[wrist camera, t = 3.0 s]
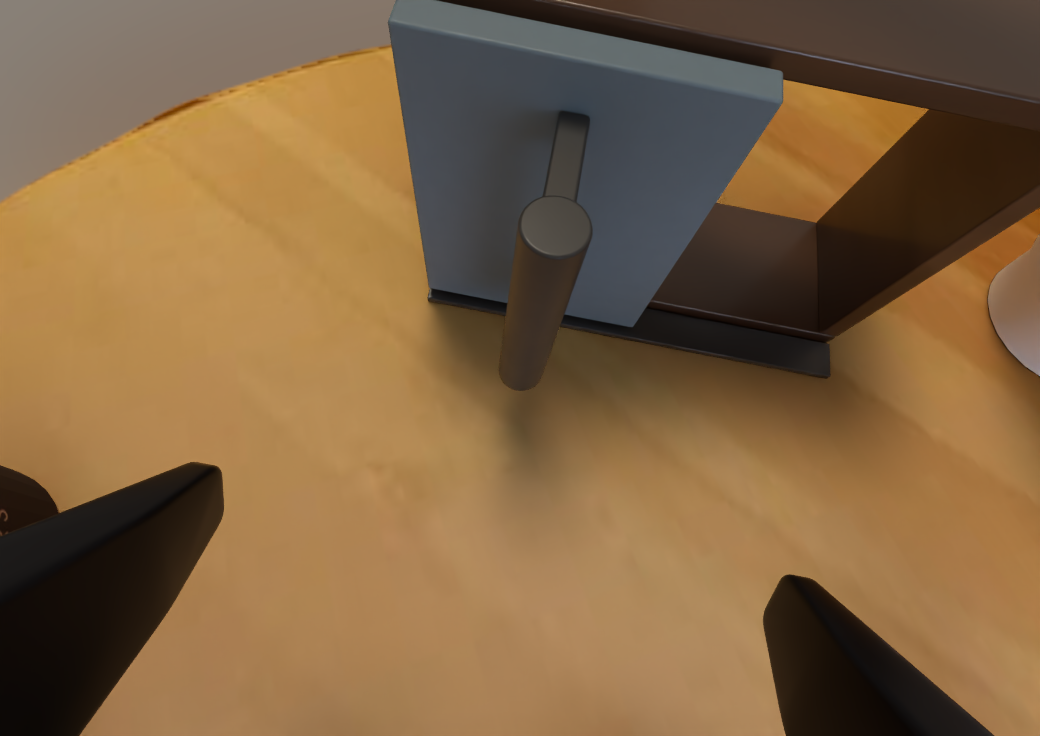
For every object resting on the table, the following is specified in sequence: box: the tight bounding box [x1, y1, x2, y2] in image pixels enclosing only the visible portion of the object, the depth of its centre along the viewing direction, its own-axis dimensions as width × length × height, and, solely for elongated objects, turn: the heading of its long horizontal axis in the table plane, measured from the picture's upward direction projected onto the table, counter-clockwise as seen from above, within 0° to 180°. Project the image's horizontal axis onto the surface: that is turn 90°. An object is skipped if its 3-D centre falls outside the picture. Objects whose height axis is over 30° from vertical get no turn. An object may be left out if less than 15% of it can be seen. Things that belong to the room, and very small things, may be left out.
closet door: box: [388, 0, 783, 391], centre depth 17 cm, size 6×9×12 cm, turn 80°
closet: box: [428, 0, 1040, 378], centre depth 19 cm, size 8×18×13 cm, turn 80°
